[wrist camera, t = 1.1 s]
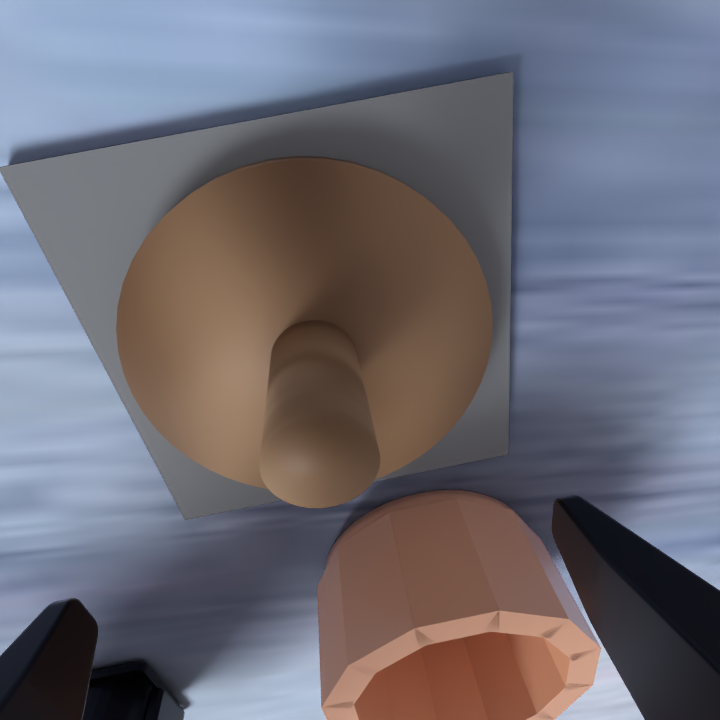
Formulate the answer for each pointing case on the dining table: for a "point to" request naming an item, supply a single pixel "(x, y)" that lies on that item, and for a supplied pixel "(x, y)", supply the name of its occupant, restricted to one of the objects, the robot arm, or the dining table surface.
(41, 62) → the dining table surface
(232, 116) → the dining table surface
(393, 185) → the lid
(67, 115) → the dining table surface
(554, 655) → the bowl
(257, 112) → the dining table surface
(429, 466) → the mat
